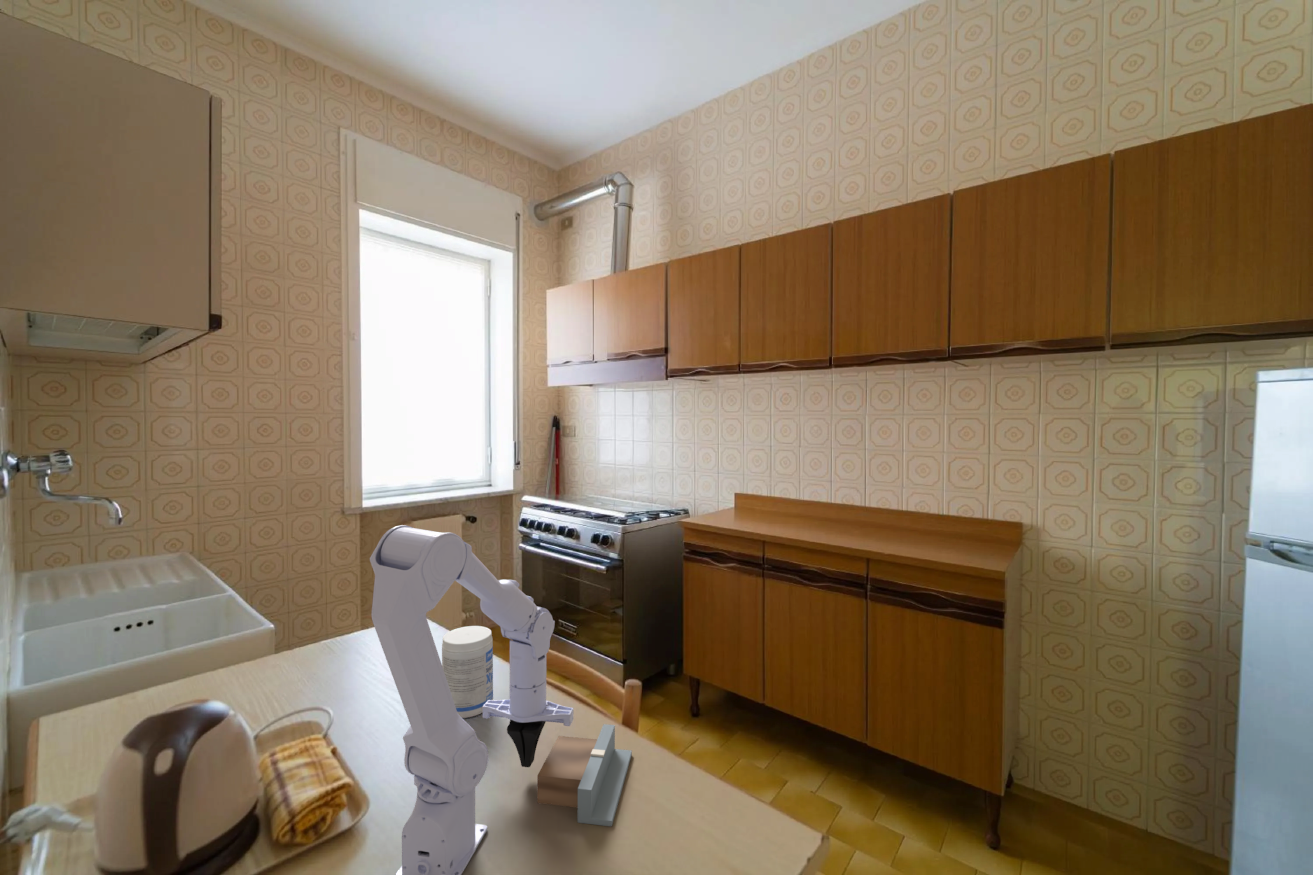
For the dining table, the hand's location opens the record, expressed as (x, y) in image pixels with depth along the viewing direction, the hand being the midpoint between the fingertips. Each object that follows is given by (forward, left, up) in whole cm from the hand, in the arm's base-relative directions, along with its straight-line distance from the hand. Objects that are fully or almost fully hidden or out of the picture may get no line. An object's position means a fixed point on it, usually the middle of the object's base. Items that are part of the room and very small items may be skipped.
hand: (527, 762), depth 85 cm
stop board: (0, -13, -2) cm, 13 cm away
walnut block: (0, -7, -3) cm, 8 cm away
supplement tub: (+18, +19, -3) cm, 27 cm away
